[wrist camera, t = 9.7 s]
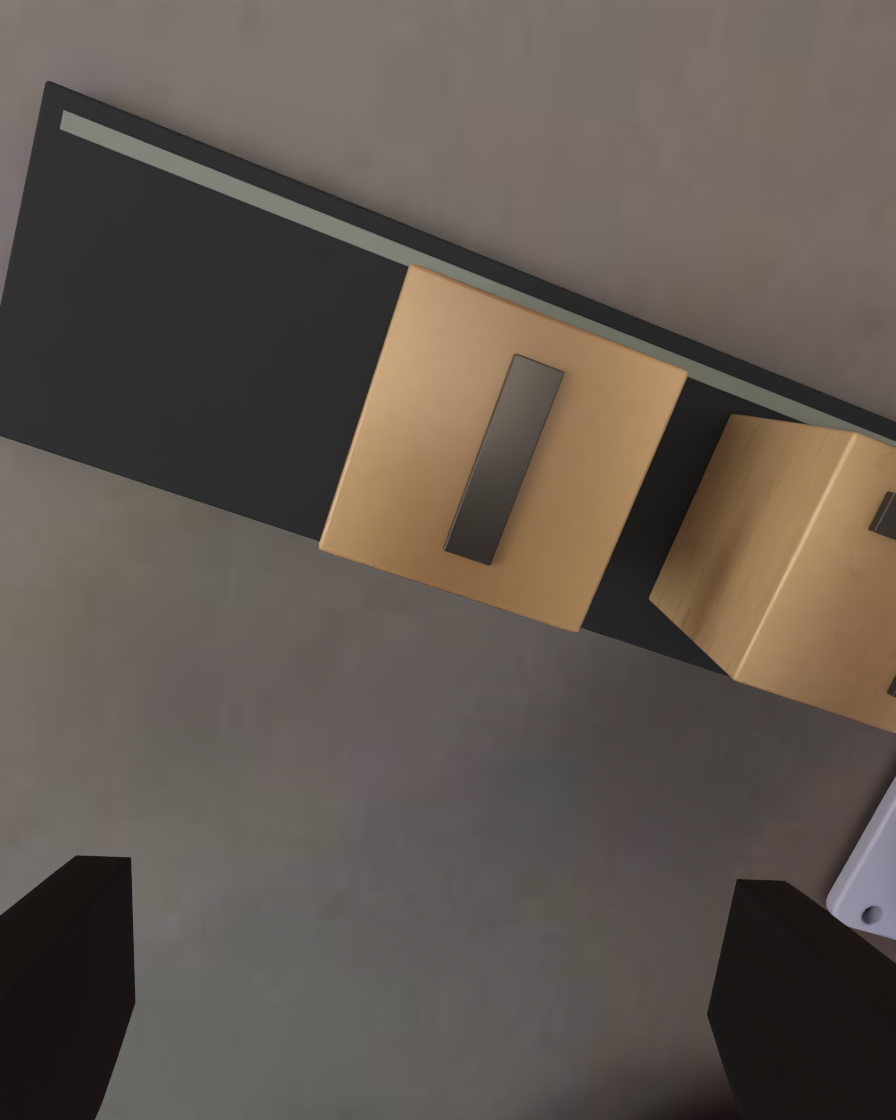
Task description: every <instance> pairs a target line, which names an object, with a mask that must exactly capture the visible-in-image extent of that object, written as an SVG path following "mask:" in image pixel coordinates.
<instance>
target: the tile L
mask: <svg viewBox="0 0 896 1120" xmlns="http://www.w3.org/2000/svg"><path fill="white" fill-rule="evenodd" d="M649 600H650V601H651V602H652V603H653V604H654V605H655V606H656V607H657V608H659V609H660V610H661V611H662V612H663V613H664V614H665V615H666V616H667V617H668V618H669V619H670V620H671V621H672V622H673V623H674V624H675V625H676V626H678V627H679V628H680V629H681V630H682V631H683V632H684V633H685V634H686V635H687V636H688V637H689V638H690V639H691V640H692V641H693V642H694V643H695V644H697V645H698V646H699V647H700V648H701V649H702V650H703V651H704V652H705V653H706V654H707V655H708V656H709V657H710V658H711V659H712V660H713V661H714V662H715V663H717V664H718V665H719V666H720V667H721V668H722V669H723V670H724V671H725V672H726V673H727V674H728V675H729V676H730V677H731V678H732V679H733V680H735V681H737V682H740V683H743V684H746V685H749V686H752V687H755V688H758V689H761V690H764V691H767V692H771V693H774V694H777V695H780V696H783V697H786V698H789V699H792V700H795V701H798V702H801V703H804V704H807V705H810V706H813V707H816V708H819V709H822V710H825V711H828V712H831V713H834V714H837V715H840V716H843V717H846V718H849V719H852V720H855V721H858V722H862V723H865V724H868V725H871V726H874V727H877V728H880V729H883V730H886V731H889V732H892V733H895V734H896V447H894V446H891V445H889V444H886V443H884V442H881V441H879V440H876V439H874V438H871V437H869V436H866V435H864V434H861V433H859V432H855V431H848V430H841V429H834V428H827V427H821V426H814V425H807V424H800V423H793V422H786V421H779V420H773V419H766V418H759V417H752V416H745V415H738V414H732V415H731V416H730V418H729V420H728V422H727V424H726V426H725V429H724V431H723V433H722V435H721V438H720V440H719V442H718V444H717V447H716V449H715V451H714V453H713V455H712V458H711V460H710V462H709V464H708V467H707V469H706V471H705V473H704V476H703V478H702V480H701V482H700V485H699V487H698V489H697V491H696V493H695V496H694V498H693V500H692V502H691V505H690V507H689V509H688V511H687V514H686V516H685V518H684V520H683V523H682V525H681V527H680V529H679V531H678V534H677V536H676V538H675V540H674V543H673V545H672V547H671V549H670V552H669V554H668V556H667V558H666V560H665V563H664V565H663V567H662V569H661V572H660V574H659V576H658V578H657V581H656V583H655V585H654V587H653V590H652V592H651V594H650V596H649Z"/></svg>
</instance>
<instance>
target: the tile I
mask: <svg viewBox="0 0 896 1120" xmlns="http://www.w3.org/2000/svg"><path fill="white" fill-rule="evenodd" d="M687 377H688V372H687V371H686V370H685V369H682V368H680V367H677V366H675V365H672V364H670V363H667V362H665V361H662V360H659V359H657V358H654V357H652V356H649V355H647V354H644V353H642V352H639V351H637V350H634V349H631V348H629V347H626V346H624V345H621V344H619V343H616V342H614V341H611V340H609V339H606V338H603V337H601V336H598V335H596V334H593V333H591V332H588V331H586V330H583V329H581V328H578V327H575V326H573V325H570V324H568V323H565V322H563V321H560V320H558V319H555V318H553V317H550V316H547V315H545V314H542V313H540V312H537V311H535V310H532V309H530V308H527V307H525V306H522V305H519V304H517V303H514V302H512V301H509V300H507V299H504V298H502V297H499V296H497V295H494V294H491V293H489V292H486V291H484V290H481V289H479V288H476V287H474V286H471V285H469V284H466V283H464V282H461V281H458V280H456V279H453V278H451V277H448V276H446V275H443V274H441V273H438V272H436V271H433V270H430V269H428V268H425V267H423V266H420V265H418V264H411V265H410V266H409V268H408V271H407V274H406V277H405V280H404V283H403V286H402V289H401V292H400V295H399V299H398V302H397V305H396V308H395V311H394V314H393V317H392V320H391V323H390V326H389V329H388V332H387V336H386V339H385V342H384V345H383V348H382V351H381V354H380V357H379V360H378V363H377V366H376V369H375V373H374V376H373V379H372V382H371V385H370V388H369V391H368V394H367V397H366V400H365V403H364V406H363V409H362V413H361V416H360V419H359V422H358V425H357V428H356V431H355V434H354V437H353V440H352V443H351V446H350V450H349V453H348V456H347V459H346V462H345V465H344V468H343V471H342V474H341V477H340V480H339V483H338V487H337V490H336V493H335V496H334V499H333V502H332V505H331V508H330V511H329V514H328V517H327V520H326V524H325V527H324V530H323V533H322V536H321V539H320V542H319V549H320V550H322V551H324V552H328V553H331V554H334V555H337V556H340V557H343V558H346V559H349V560H352V561H355V562H358V563H361V564H364V565H367V566H370V567H374V568H377V569H380V570H383V571H386V572H389V573H392V574H395V575H398V576H401V577H404V578H407V579H410V580H413V581H417V582H420V583H423V584H426V585H429V586H432V587H435V588H438V589H441V590H444V591H447V592H450V593H453V594H456V595H459V596H463V597H466V598H469V599H472V600H475V601H478V602H481V603H484V604H487V605H490V606H493V607H496V608H499V609H502V610H505V611H509V612H512V613H515V614H518V615H521V616H524V617H527V618H530V619H533V620H536V621H539V622H542V623H545V624H548V625H552V626H555V627H558V628H561V629H564V630H567V631H570V632H573V633H578V632H579V630H580V628H581V626H582V623H583V621H584V618H585V616H586V614H587V611H588V609H589V607H590V604H591V602H592V600H593V597H594V595H595V593H596V590H597V588H598V586H599V583H600V581H601V579H602V576H603V574H604V572H605V569H606V567H607V564H608V562H609V560H610V557H611V555H612V553H613V550H614V548H615V546H616V543H617V541H618V539H619V536H620V534H621V532H622V529H623V527H624V525H625V522H626V520H627V517H628V515H629V513H630V510H631V508H632V506H633V503H634V501H635V499H636V496H637V494H638V492H639V489H640V487H641V485H642V482H643V480H644V478H645V475H646V473H647V471H648V468H649V466H650V463H651V461H652V459H653V456H654V454H655V452H656V449H657V447H658V445H659V442H660V440H661V438H662V435H663V433H664V431H665V428H666V426H667V424H668V421H669V419H670V416H671V414H672V412H673V409H674V407H675V405H676V402H677V400H678V398H679V395H680V393H681V391H682V388H683V386H684V384H685V381H686V379H687Z"/></svg>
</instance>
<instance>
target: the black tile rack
mask: <svg viewBox="0 0 896 1120" xmlns="http://www.w3.org/2000/svg"><path fill="white" fill-rule="evenodd" d="M411 264H418V265H420V266H423V267H425V268H428V269H430V270H433V271H436V272H438V273H441V274H443V275H446V276H448V277H451V278H453V279H456V280H458V281H461V282H464V283H466V284H469V285H471V286H474V287H476V288H479V289H481V290H484V291H486V292H489V293H491V294H494V295H497V296H499V297H502V298H504V299H507V300H509V301H512V302H514V303H517V304H519V305H522V306H525V307H527V308H530V309H532V310H535V311H537V312H540V313H542V314H545V315H547V316H550V317H553V318H555V319H558V320H560V321H563V322H565V323H568V324H570V325H573V326H575V327H578V328H581V329H583V330H586V331H588V332H591V333H593V334H596V335H598V336H601V337H603V338H606V339H609V340H611V341H614V342H616V343H619V344H621V345H624V346H626V347H629V348H631V349H634V350H637V351H639V352H642V353H644V354H647V355H649V356H652V357H654V358H657V359H659V360H662V361H665V362H667V363H670V364H672V365H675V366H677V367H680V368H682V369H685V370H686V371H687V372H688V377H687V379H686V381H685V384H684V386H683V388H682V391H681V393H680V395H679V398H678V400H677V402H676V405H675V407H674V409H673V412H672V414H671V416H670V419H669V421H668V424H667V426H666V428H665V431H664V433H663V435H662V438H661V440H660V442H659V445H658V447H657V449H656V452H655V454H654V456H653V459H652V461H651V463H650V466H649V468H648V471H647V473H646V475H645V478H644V480H643V482H642V485H641V487H640V489H639V492H638V494H637V496H636V499H635V501H634V503H633V506H632V508H631V510H630V513H629V515H628V517H627V520H626V522H625V525H624V527H623V529H622V532H621V534H620V536H619V539H618V541H617V543H616V546H615V548H614V550H613V553H612V555H611V557H610V560H609V562H608V564H607V567H606V569H605V572H604V574H603V576H602V579H601V581H600V583H599V586H598V588H597V590H596V593H595V595H594V597H593V600H592V602H591V604H590V607H589V609H588V611H587V614H586V616H585V618H584V621H583V623H582V626H581V628H584V629H587V630H590V631H593V632H596V633H599V634H602V635H605V636H608V637H611V638H614V639H617V640H620V641H624V642H627V643H630V644H633V645H636V646H639V647H642V648H645V649H648V650H651V651H654V652H657V653H660V654H663V655H666V656H669V657H672V658H675V659H678V660H681V661H684V662H687V663H690V664H693V665H696V666H699V667H702V668H705V669H708V670H711V671H714V672H717V673H720V674H724V675H727V676H729V675H728V674H727V673H726V672H725V671H724V670H723V669H722V668H721V667H720V666H719V665H718V664H717V663H715V662H714V661H713V660H712V659H711V658H710V657H709V656H708V655H707V654H706V653H705V652H704V651H703V650H702V649H701V648H700V647H699V646H698V645H697V644H695V643H694V642H693V641H692V640H691V639H690V638H689V637H688V636H687V635H686V634H685V633H684V632H683V631H682V630H681V629H680V628H679V627H678V626H676V625H675V624H674V623H673V622H672V621H671V620H670V619H669V618H668V617H667V616H666V615H665V614H664V613H663V612H662V611H661V610H660V609H659V608H657V607H656V606H655V605H654V604H653V603H652V602H651V601H650V600H649V596H650V594H651V592H652V590H653V587H654V585H655V583H656V581H657V578H658V576H659V574H660V572H661V569H662V567H663V565H664V563H665V560H666V558H667V556H668V554H669V552H670V549H671V547H672V545H673V543H674V540H675V538H676V536H677V534H678V531H679V529H680V527H681V525H682V523H683V520H684V518H685V516H686V514H687V511H688V509H689V507H690V505H691V502H692V500H693V498H694V496H695V493H696V491H697V489H698V487H699V485H700V482H701V480H702V478H703V476H704V473H705V471H706V469H707V467H708V464H709V462H710V460H711V458H712V455H713V453H714V451H715V449H716V447H717V444H718V442H719V440H720V438H721V435H722V433H723V431H724V429H725V426H726V424H727V422H728V420H729V418H730V416H731V415H732V414H738V415H745V416H752V417H759V418H766V419H773V420H779V421H786V422H793V423H800V424H807V425H814V426H821V427H827V428H834V429H841V430H848V431H855V432H859V433H861V434H864V435H866V436H869V437H871V438H874V439H876V440H879V441H881V442H884V443H886V444H889V445H891V446H894V447H896V422H894V421H892V420H889V419H887V418H884V417H882V416H879V415H877V414H874V413H872V412H869V411H867V410H864V409H862V408H860V407H857V406H855V405H852V404H850V403H847V402H845V401H842V400H840V399H837V398H835V397H832V396H830V395H827V394H825V393H822V392H820V391H817V390H815V389H812V388H810V387H807V386H805V385H802V384H800V383H797V382H795V381H793V380H790V379H788V378H785V377H783V376H780V375H778V374H775V373H773V372H770V371H768V370H765V369H763V368H760V367H758V366H755V365H753V364H750V363H748V362H745V361H743V360H740V359H738V358H735V357H733V356H731V355H728V354H726V353H723V352H721V351H718V350H716V349H713V348H711V347H708V346H706V345H703V344H701V343H698V342H696V341H693V340H691V339H688V338H686V337H683V336H681V335H678V334H676V333H673V332H671V331H668V330H666V329H664V328H661V327H659V326H656V325H654V324H651V323H649V322H646V321H644V320H641V319H639V318H636V317H634V316H631V315H629V314H626V313H624V312H621V311H619V310H616V309H614V308H611V307H609V306H606V305H604V304H601V303H599V302H597V301H594V300H592V299H589V298H587V297H584V296H582V295H579V294H577V293H574V292H572V291H569V290H567V289H564V288H562V287H559V286H557V285H554V284H552V283H549V282H547V281H544V280H542V279H539V278H537V277H535V276H532V275H530V274H527V273H525V272H522V271H520V270H517V269H515V268H512V267H510V266H507V265H505V264H502V263H500V262H497V261H495V260H492V259H490V258H487V257H485V256H482V255H480V254H477V253H475V252H472V251H470V250H468V249H465V248H463V247H460V246H458V245H455V244H453V243H450V242H448V241H445V240H443V239H440V238H438V237H435V236H433V235H430V234H428V233H425V232H423V231H420V230H418V229H415V228H413V227H410V226H408V225H406V224H403V223H401V222H398V221H396V220H393V219H391V218H388V217H386V216H383V215H381V214H378V213H376V212H373V211H371V210H368V209H366V208H363V207H361V206H358V205H356V204H353V203H351V202H348V201H346V200H343V199H341V198H339V197H336V196H334V195H331V194H329V193H326V192H324V191H321V190H319V189H316V188H314V187H311V186H309V185H306V184H304V183H301V182H299V181H296V180H294V179H291V178H289V177H286V176H284V175H281V174H279V173H277V172H274V171H272V170H269V169H267V168H264V167H262V166H259V165H257V164H254V163H252V162H249V161H247V160H244V159H242V158H239V157H237V156H234V155H232V154H229V153H227V152H224V151H222V150H219V149H217V148H214V147H212V146H210V145H207V144H205V143H202V142H200V141H197V140H195V139H192V138H190V137H187V136H185V135H182V134H180V133H177V132H175V131H172V130H170V129H167V128H165V127H162V126H160V125H157V124H155V123H152V122H150V121H148V120H145V119H143V118H140V117H138V116H135V115H133V114H130V113H128V112H125V111H123V110H120V109H118V108H115V107H113V106H110V105H108V104H105V103H103V102H100V101H98V100H95V99H93V98H90V97H88V96H85V95H83V94H81V93H78V92H76V91H73V90H71V89H68V88H66V87H63V86H61V85H58V84H56V83H53V82H51V81H47V82H46V83H45V88H44V93H43V98H42V103H41V108H40V113H39V118H38V123H37V127H36V132H35V137H34V142H33V147H32V152H31V157H30V162H29V167H28V172H27V177H26V182H25V187H24V192H23V197H22V202H21V207H20V212H19V216H18V221H17V226H16V231H15V236H14V241H13V246H12V251H11V256H10V261H9V266H8V271H7V276H6V281H5V286H4V291H3V296H2V301H1V306H0V436H2V437H5V438H8V439H11V440H14V441H17V442H21V443H24V444H27V445H30V446H33V447H36V448H39V449H42V450H45V451H48V452H51V453H54V454H57V455H60V456H63V457H66V458H69V459H72V460H75V461H78V462H81V463H84V464H87V465H90V466H93V467H96V468H99V469H102V470H105V471H108V472H111V473H114V474H117V475H121V476H124V477H127V478H130V479H133V480H136V481H139V482H142V483H145V484H148V485H151V486H154V487H157V488H160V489H163V490H166V491H169V492H172V493H175V494H178V495H181V496H184V497H187V498H190V499H193V500H196V501H199V502H202V503H205V504H208V505H211V506H214V507H217V508H220V509H224V510H227V511H230V512H233V513H236V514H239V515H242V516H245V517H248V518H251V519H254V520H257V521H260V522H263V523H266V524H269V525H272V526H275V527H278V528H281V529H284V530H287V531H290V532H293V533H296V534H299V535H302V536H305V537H308V538H311V539H314V540H317V541H320V539H321V536H322V533H323V530H324V527H325V524H326V520H327V517H328V514H329V511H330V508H331V505H332V502H333V499H334V496H335V493H336V490H337V487H338V483H339V480H340V477H341V474H342V471H343V468H344V465H345V462H346V459H347V456H348V453H349V450H350V446H351V443H352V440H353V437H354V434H355V431H356V428H357V425H358V422H359V419H360V416H361V413H362V409H363V406H364V403H365V400H366V397H367V394H368V391H369V388H370V385H371V382H372V379H373V376H374V373H375V369H376V366H377V363H378V360H379V357H380V354H381V351H382V348H383V345H384V342H385V339H386V336H387V332H388V329H389V326H390V323H391V320H392V317H393V314H394V311H395V308H396V305H397V302H398V299H399V295H400V292H401V289H402V286H403V283H404V280H405V277H406V274H407V271H408V268H409V266H410V265H411Z"/></svg>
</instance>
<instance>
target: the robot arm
mask: <svg viewBox="0 0 896 1120" xmlns="http://www.w3.org/2000/svg"><path fill="white" fill-rule="evenodd" d="M826 906H827V909H828V910H829V912H830V913H829V912H828V911H827V910H825V909H824V908H823V907H821V906H820V905H818V904H817V903H816V902H814V901H813V900H812V899H810V898H809V897H808V896H806V895H805V894H803V893H802V892H800V891H799V890H798V889H796V888H795V887H793V886H792V885H790V884H789V883H787V882H786V881H773V880H745V879H737V881H736V886H735V890H734V895H733V900H732V904H731V909H730V913H729V918H728V922H727V927H726V931H725V936H724V940H723V945H722V949H721V954H720V958H719V963H718V967H717V972H716V976H715V981H714V986H713V990H712V995H711V999H710V1004H709V1008H708V1013H707V1016H708V1019H709V1022H710V1025H711V1028H712V1032H713V1035H714V1038H715V1041H716V1044H717V1048H718V1051H719V1054H720V1057H721V1060H722V1064H723V1067H724V1070H725V1072H726V1075H727V1078H728V1081H729V1084H730V1087H731V1090H732V1093H733V1096H734V1099H735V1102H736V1104H737V1107H738V1110H739V1113H740V1115H741V1117H742V1120H896V963H894V962H893V961H892V960H890V959H889V958H888V957H886V956H885V955H884V954H883V953H881V952H880V951H879V950H877V949H876V948H875V947H874V946H872V945H871V944H870V943H868V942H867V941H866V940H865V939H863V938H862V937H861V936H859V935H858V934H857V933H855V932H854V931H853V930H852V929H850V928H849V927H851V928H855V929H858V930H862V931H866V932H869V933H873V934H876V935H880V936H883V937H887V938H891V939H894V940H896V776H895V778H894V780H893V781H892V783H891V785H890V787H889V788H888V790H887V792H886V794H885V795H884V797H883V799H882V801H881V803H880V804H879V806H878V808H877V810H876V811H875V813H874V815H873V817H872V818H871V820H870V822H869V824H868V825H867V827H866V829H865V831H864V832H863V834H862V836H861V838H860V839H859V841H858V843H857V845H856V847H855V848H854V850H853V852H852V854H851V855H850V857H849V859H848V861H847V862H846V864H845V866H844V868H843V869H842V871H841V873H840V875H839V876H838V878H837V880H836V882H835V883H834V885H833V887H832V889H831V890H830V892H829V894H828V897H827V900H826ZM869 907H870V908H869ZM867 908H869V909H868V910H867V911H865V910H866V909H867ZM134 1005H135V975H134V942H133V909H132V876H131V857H104V856H77V855H76V856H75V857H74V858H72V859H71V860H70V861H68V862H67V863H66V864H64V865H63V866H62V867H61V868H59V869H58V870H57V871H55V872H54V873H53V874H52V875H50V876H49V877H48V878H47V879H45V880H44V881H43V882H42V883H40V884H39V885H38V886H37V887H35V888H34V889H33V890H32V891H30V892H29V893H28V894H27V895H25V896H24V897H23V898H22V899H20V900H19V901H18V902H17V903H15V904H14V905H13V906H12V907H10V908H9V909H8V910H7V911H5V912H4V913H3V914H2V915H0V1120H95V1118H96V1116H97V1113H98V1111H99V1109H100V1106H101V1104H102V1101H103V1098H104V1096H105V1093H106V1090H107V1087H108V1084H109V1081H110V1078H111V1075H112V1072H113V1069H114V1066H115V1063H116V1061H117V1058H118V1055H119V1051H120V1048H121V1045H122V1042H123V1039H124V1036H125V1033H126V1030H127V1027H128V1024H129V1021H130V1017H131V1014H132V1011H133V1008H134Z"/></svg>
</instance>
